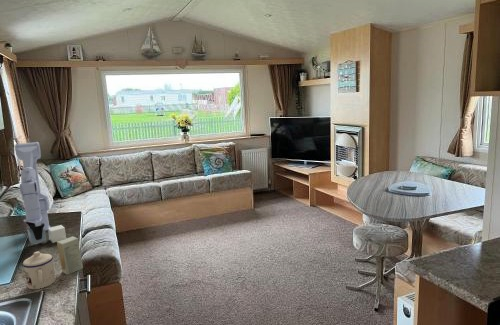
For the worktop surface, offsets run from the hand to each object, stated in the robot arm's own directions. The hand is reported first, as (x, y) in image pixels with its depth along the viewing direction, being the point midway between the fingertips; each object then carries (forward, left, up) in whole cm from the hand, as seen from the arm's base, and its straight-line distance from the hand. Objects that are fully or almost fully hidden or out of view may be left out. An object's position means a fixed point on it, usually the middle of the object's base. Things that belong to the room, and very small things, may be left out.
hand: (37, 237), depth 163 cm
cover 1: (0, 0, -1) cm, 1 cm away
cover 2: (0, +8, -3) cm, 9 cm away
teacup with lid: (+43, -8, -4) cm, 44 cm away
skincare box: (+39, +3, -4) cm, 39 cm away
